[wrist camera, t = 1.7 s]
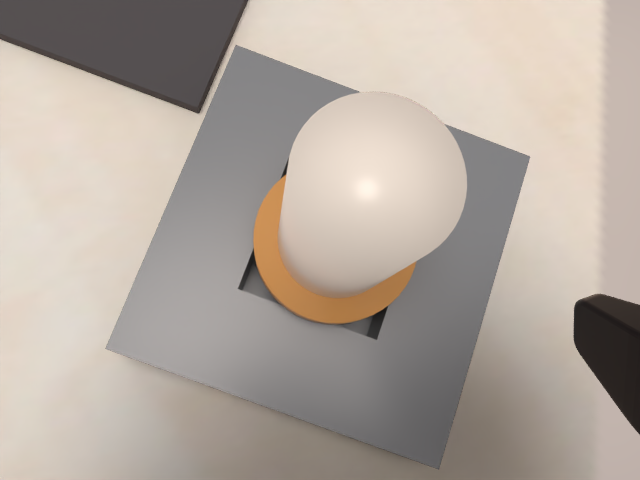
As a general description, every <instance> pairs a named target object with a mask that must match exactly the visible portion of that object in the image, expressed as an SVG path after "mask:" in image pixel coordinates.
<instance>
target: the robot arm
mask: <svg viewBox="0 0 640 480" xmlns="http://www.w3.org/2000/svg"><path fill="white" fill-rule="evenodd" d="M574 343H575V346H576V348H577V350H578V352H579V353H580V355H581V356H582V358H583V359H584V360H585V362H586V363H587V365H588V366H589V367H590V369H591V370H592V372H593V373H594V374H595V376H596V377H597V379H598V380H599V381H600V383H601V384H602V385H603V387H604V388H605V390H606V391H607V392H608V394H609V395H610V397H611V398H612V399H613V401H614V402H615V403H616V405H617V406H618V408H619V409H620V410H621V412H622V413H623V414H624V416H625V417H626V418H627V420H628V421H629V422H630V424H631V425H632V426H633V427H634V428H635V430H636V431H637V432H638V433H639V434H640V305H638V304H634V303H631V302H627V301H624V300H621V299H617V298H614V297H611V296H607V295H603V294H595V295H592V296H589V297H586V298H583V299H580V300H578V301H577V302H576V304H575V307H574Z"/></svg>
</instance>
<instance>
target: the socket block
mask: <svg viewBox="0 0 640 480" xmlns="http://www.w3.org/2000/svg"><path fill="white" fill-rule="evenodd" d="M355 93H360V92H359V91H356V90H353V89H351V88H348V87H345V86H343V85H340V84H338V83H335V82H332V81H330V80H327V79H324V78H322V77H319V76H316V75H314V74H311V73H309V72H306V71H303V70H301V69H298V68H295V67H293V66H290V65H287V64H285V63H282V62H280V61H277V60H274V59H272V58H269V57H266V56H264V55H261V54H258V53H256V52H253V51H251V50H248V49H245V48H243V47H240V46H237V45H236V46H235V48H234V50H233V53H232V55H231V57H230V60H229V62H228V64H227V67H226V69H225V71H224V74H223V76H222V78H221V81H220V83H219V85H218V88H217V90H216V92H215V95H214V97H213V99H212V102H211V104H210V106H209V109H208V111H207V113H206V116H205V118H204V120H203V123H202V125H201V127H200V130H199V132H198V134H197V137H196V139H195V141H194V144H193V146H192V148H191V151H190V153H189V155H188V157H187V160H186V162H185V164H184V167H183V169H182V171H181V174H180V176H179V178H178V181H177V183H176V185H175V188H174V190H173V192H172V195H171V197H170V199H169V202H168V204H167V206H166V209H165V211H164V213H163V216H162V218H161V220H160V223H159V225H158V227H157V230H156V232H155V234H154V237H153V239H152V241H151V244H150V246H149V248H148V251H147V253H146V255H145V258H144V260H143V262H142V265H141V267H140V269H139V272H138V274H137V276H136V278H135V281H134V283H133V285H132V288H131V290H130V292H129V295H128V297H127V299H126V302H125V304H124V306H123V309H122V311H121V313H120V316H119V318H118V320H117V323H116V325H115V327H114V330H113V332H112V334H111V337H110V339H109V341H108V344H107V346H106V348H105V349H107V350H110V351H113V352H115V353H118V354H121V355H124V356H126V357H129V358H132V359H135V360H138V361H140V362H143V363H146V364H149V365H151V366H154V367H157V368H160V369H162V370H165V371H168V372H171V373H173V374H176V375H179V376H182V377H185V378H187V379H190V380H193V381H196V382H198V383H201V384H204V385H207V386H209V387H212V388H215V389H218V390H220V391H223V392H226V393H229V394H232V395H234V396H237V397H240V398H243V399H245V400H248V401H251V402H254V403H256V404H259V405H262V406H265V407H267V408H270V409H273V410H276V411H279V412H281V413H284V414H287V415H290V416H292V417H295V418H298V419H301V420H303V421H306V422H309V423H312V424H314V425H317V426H320V427H323V428H325V429H328V430H331V431H334V432H337V433H339V434H342V435H345V436H348V437H350V438H353V439H356V440H359V441H361V442H364V443H367V444H370V445H372V446H375V447H378V448H381V449H384V450H386V451H389V452H392V453H395V454H397V455H400V456H403V457H406V458H408V459H411V460H414V461H417V462H419V463H422V464H425V465H428V466H431V467H433V468H436V469H439V468H440V464H441V461H442V457H443V454H444V450H445V447H446V444H447V440H448V437H449V433H450V430H451V426H452V423H453V420H454V416H455V413H456V409H457V406H458V402H459V399H460V396H461V392H462V389H463V385H464V382H465V378H466V375H467V372H468V368H469V365H470V361H471V358H472V354H473V351H474V348H475V344H476V341H477V337H478V334H479V331H480V327H481V324H482V320H483V317H484V313H485V310H486V307H487V303H488V300H489V296H490V293H491V289H492V286H493V283H494V279H495V276H496V272H497V269H498V265H499V262H500V259H501V255H502V252H503V248H504V245H505V241H506V238H507V235H508V231H509V228H510V224H511V221H512V217H513V214H514V211H515V207H516V204H517V200H518V197H519V193H520V190H521V187H522V183H523V180H524V176H525V173H526V170H527V166H528V163H529V159H530V156H527V155H525V154H522V153H519V152H517V151H514V150H511V149H509V148H506V147H504V146H501V145H498V144H496V143H493V142H490V141H488V140H485V139H483V138H480V137H477V136H475V135H472V134H469V133H467V132H464V131H461V130H459V129H456V128H454V127H451V126H448V125H446V124H445V126H446V127H447V128H448V130H449V131H450V132H451V134H452V135H453V137H454V139H455V140H456V142H457V144H458V146H459V148H460V151H461V153H462V156H463V159H464V163H465V168H466V174H467V193H466V200H465V204H464V208H463V211H462V213H461V216H460V219H459V221H458V222H457V224H456V226H455V228H454V229H453V231H452V232H451V233H450V235H449V236H448V237H447V239H446V240H445V241H444V242H443V243H442V244H441V245H440V246H438V247H437V248H436V249H434V250H433V251H432V252H431V253H429V254H427V255H426V256H424V257H422V258H421V259H419V260H417V261H416V265H415V268H414V271H413V273H412V276H411V278H410V280H409V282H408V283H407V285H406V287H405V288H404V290H403V291H402V292H401V293H400V295H399V296H398V297H397V298H396V299H395V300H394V301H393V302H392V303H391V304H389V305H388V306H387V307H385V308H384V309H383V310H381V311H379V312H377V313H376V314H374V315H372V316H369V317H367V318H364V319H361V320H358V321H355V322H351V323H346V324H322V323H316V322H312V321H309V320H306V319H303V318H301V317H299V316H297V315H295V314H293V313H292V312H290V311H288V310H287V309H286V308H284V307H283V306H282V305H281V304H280V303H279V302H278V301H277V300H276V299H275V298H274V297H273V296H272V295H271V294H270V292H269V291H268V289H267V288H266V287H265V285H264V283H263V281H262V279H261V277H260V274H259V272H258V269H257V266H256V261H255V256H254V244H253V238H254V226H255V221H256V217H257V214H258V211H259V208H260V206H261V204H262V202H263V200H264V198H265V197H266V195H267V194H268V192H269V191H270V190H271V188H272V187H273V186H274V185H275V184H276V183H277V182H278V181H279V180H280V179H281V178H282V177H284V176H285V175H286V174H287V168H288V161H289V155H290V152H291V149H292V146H293V143H294V141H295V139H296V137H297V135H298V133H299V132H300V130H301V129H302V127H303V126H304V124H305V123H306V122H307V121H308V120H309V119H310V117H311V116H312V115H314V114H315V113H316V112H317V111H318V110H319V109H321V108H322V107H324V106H325V105H327V104H328V103H330V102H332V101H334V100H336V99H338V98H341V97H344V96H347V95H350V94H355Z"/></svg>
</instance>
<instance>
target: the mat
mask: <svg viewBox="0 0 640 480" xmlns="http://www.w3.org/2000/svg"><path fill="white" fill-rule="evenodd" d="M247 1H248V0H0V39H2V40H5V41H7V42H10V43H13V44H15V45H18V46H21V47H23V48H26V49H29V50H31V51H34V52H37V53H39V54H42V55H45V56H47V57H50V58H53V59H55V60H58V61H61V62H63V63H66V64H69V65H71V66H74V67H77V68H79V69H82V70H85V71H87V72H90V73H93V74H95V75H98V76H101V77H103V78H106V79H109V80H111V81H114V82H117V83H119V84H122V85H125V86H127V87H130V88H133V89H135V90H138V91H141V92H143V93H146V94H149V95H151V96H154V97H157V98H159V99H162V100H165V101H167V102H170V103H173V104H175V105H178V106H181V107H183V108H186V109H189V110H191V111H194V112H197V113H199V112H200V110H201V107H202V105H203V103H204V100H205V98H206V96H207V93H208V91H209V89H210V87H211V84H212V82H213V80H214V77H215V75H216V73H217V70H218V68H219V66H220V63H221V61H222V59H223V56H224V54H225V52H226V50H227V47H228V45H229V43H230V40H231V38H232V36H233V33H234V31H235V29H236V26H237V24H238V22H239V20H240V17H241V15H242V13H243V10H244V8H245V6H246V3H247Z"/></svg>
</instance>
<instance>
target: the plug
mask: <svg viewBox="0 0 640 480" xmlns="http://www.w3.org/2000/svg"><path fill="white" fill-rule="evenodd" d="M466 193H467V174H466V168H465V163H464V159H463V156H462V153H461V151H460V148H459V146H458V144H457V142H456V140H455V139H454V137H453V135H452V134H451V132H450V131H449V130H448V128H447V127H446V126H445V124H444V123H443V122H442V121H441V120H440V119H439V118H438V117H437V116H436V115H434V114H433V113H432V112H431V111H429V110H428V109H427V108H425V107H423V106H422V105H420V104H418V103H417V102H415V101H412V100H410V99H408V98H405V97H402V96H399V95H396V94H391V93H385V92H360V93H355V94H350V95H347V96H344V97H341V98H338V99H336V100H334V101H332V102H330V103H328V104H327V105H325V106H324V107H322V108H321V109H319V110H318V111H317V112H316V113H315V114H314V115H312V116H311V117H310V119H309V120H308V121H307V122H306V123H305V124H304V126H303V127H302V129H301V130H300V132H299V133H298V135H297V137H296V139H295V141H294V143H293V146H292V149H291V152H290V155H289V161H288V168H287V174H286V175H285V176H284V177H282V178H281V179H280V180H279V181H278V182H277V183H276V184H275V185H274V186H273V187H272V188H271V190H270V191H269V192H268V194H267V195H266V197H265V198H264V200H263V202H262V204H261V206H260V208H259V211H258V214H257V217H256V221H255V226H254V238H253V244H254V256H255V261H256V266H257V269H258V272H259V274H260V277H261V279H262V281H263V283H264V285H265V287H266V288H267V289H268V291H269V292H270V294H271V295H272V296H273V297H274V298H275V299H276V300H277V301H278V302H279V303H280V304H281V305H282V306H283V307H284V308H286V309H287V310H288V311H290V312H292V313H293V314H295V315H297V316H299V317H301V318H303V319H306V320H309V321H312V322H316V323H322V324H346V323H351V322H355V321H358V320H361V319H364V318H367V317H369V316H372V315H374V314H376V313H377V312H379V311H381V310H383V309H384V308H385V307H387V306H388V305H389V304H391V303H392V302H393V301H394V300H395V299H396V298H397V297H398V296H399V295H400V293H401V292H402V291H403V290H404V288H405V287H406V285H407V283H408V282H409V280H410V278H411V276H412V273H413V271H414V268H415V265H416V261H417V260H419V259H421V258H422V257H424V256H426V255H427V254H429V253H431V252H432V251H433V250H434V249H436V248H437V247H438V246H440V245H441V244H442V243H443V242H444V241H445V240H446V239H447V237H448V236H449V235H450V233H451V232H452V231H453V229H454V228H455V226H456V224H457V222H458V221H459V219H460V216H461V213H462V211H463V208H464V204H465V200H466Z"/></svg>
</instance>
